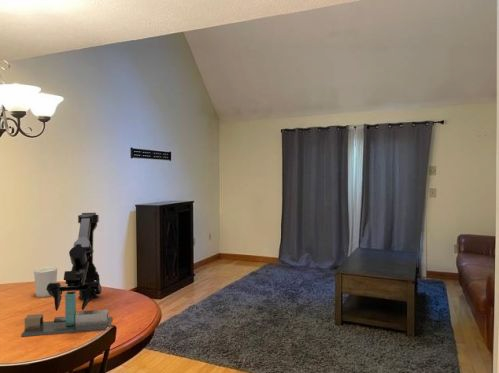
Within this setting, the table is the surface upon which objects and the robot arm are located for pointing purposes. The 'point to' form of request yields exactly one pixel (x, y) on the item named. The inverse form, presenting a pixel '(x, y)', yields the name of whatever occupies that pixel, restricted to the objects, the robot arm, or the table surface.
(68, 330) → the sleeve and socket
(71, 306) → the sliding bolt with handle
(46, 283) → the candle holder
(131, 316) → the table surface
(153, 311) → the table surface
